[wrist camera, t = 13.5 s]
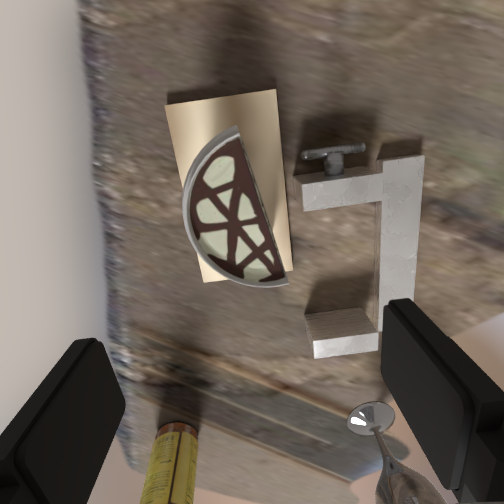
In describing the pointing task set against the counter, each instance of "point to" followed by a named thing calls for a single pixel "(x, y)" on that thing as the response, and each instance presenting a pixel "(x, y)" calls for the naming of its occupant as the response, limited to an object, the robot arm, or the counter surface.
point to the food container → (230, 215)
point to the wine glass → (391, 460)
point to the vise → (386, 238)
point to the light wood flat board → (256, 144)
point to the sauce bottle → (172, 466)
